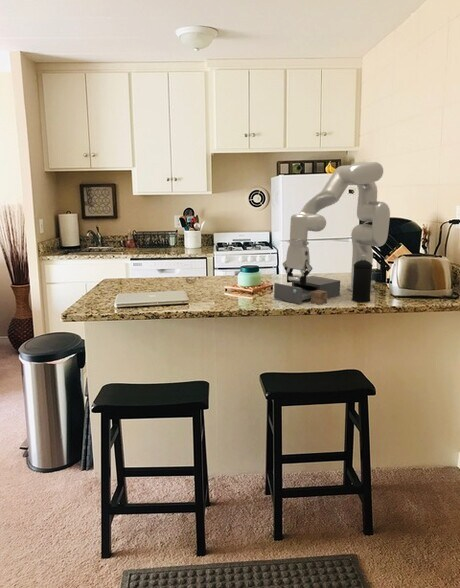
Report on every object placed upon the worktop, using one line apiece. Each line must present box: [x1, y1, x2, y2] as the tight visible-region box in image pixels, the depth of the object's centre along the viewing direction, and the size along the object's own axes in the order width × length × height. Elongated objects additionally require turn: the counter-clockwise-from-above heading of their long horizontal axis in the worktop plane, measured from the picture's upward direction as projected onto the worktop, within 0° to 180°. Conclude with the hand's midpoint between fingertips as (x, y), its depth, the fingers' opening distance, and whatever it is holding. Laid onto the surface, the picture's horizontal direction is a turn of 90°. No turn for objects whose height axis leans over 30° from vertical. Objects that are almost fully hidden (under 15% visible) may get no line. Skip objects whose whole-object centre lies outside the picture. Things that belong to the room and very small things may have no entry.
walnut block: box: [309, 290, 328, 305], centre depth 223 cm, size 5×5×5 cm
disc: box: [288, 274, 302, 282], centre depth 227 cm, size 7×7×2 cm
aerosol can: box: [351, 255, 374, 303], centre depth 226 cm, size 8×8×20 cm
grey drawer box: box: [291, 275, 341, 299], centre depth 238 cm, size 15×16×7 cm
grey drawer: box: [273, 282, 312, 305], centre depth 229 cm, size 16×15×7 cm
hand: (296, 283), depth 227 cm, fingers closed on disc, 7 cm apart
